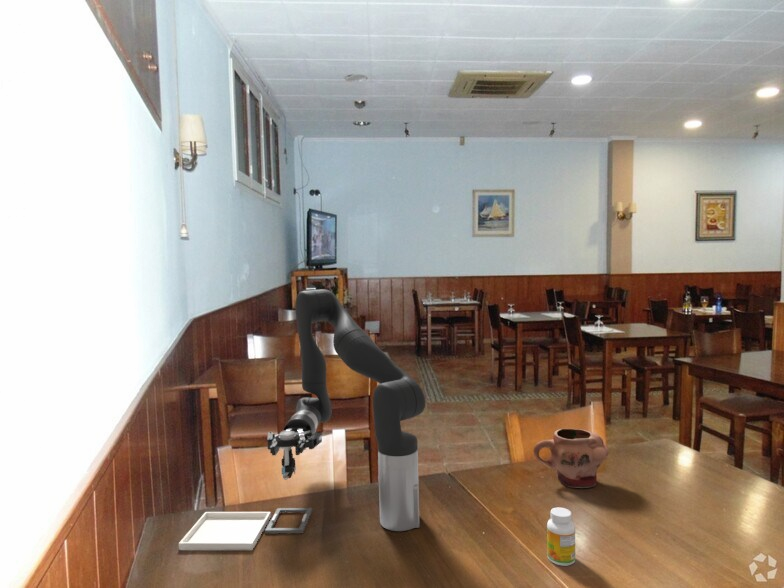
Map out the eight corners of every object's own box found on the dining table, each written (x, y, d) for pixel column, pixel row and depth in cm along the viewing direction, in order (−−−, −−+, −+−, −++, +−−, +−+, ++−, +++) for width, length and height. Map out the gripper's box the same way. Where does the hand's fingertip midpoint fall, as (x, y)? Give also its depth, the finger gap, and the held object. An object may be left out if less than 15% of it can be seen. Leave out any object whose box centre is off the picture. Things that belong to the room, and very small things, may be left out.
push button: (296, 481, 116) (295, 438, 115) (273, 482, 116) (271, 439, 115) (301, 469, 122) (300, 429, 122) (279, 470, 122) (278, 429, 122)
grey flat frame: (312, 511, 125) (311, 506, 125) (302, 533, 114) (302, 528, 114) (277, 511, 125) (277, 506, 125) (265, 533, 114) (264, 528, 114)
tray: (271, 517, 122) (270, 511, 122) (252, 550, 108) (252, 543, 108) (205, 518, 122) (205, 511, 122) (178, 550, 108) (178, 543, 108)
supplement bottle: (543, 552, 104) (542, 506, 104) (568, 550, 105) (568, 504, 104) (553, 567, 99) (553, 519, 99) (580, 565, 100) (579, 517, 99)
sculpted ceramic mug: (544, 495, 130) (543, 442, 130) (527, 476, 143) (526, 427, 142) (618, 490, 132) (618, 438, 131) (595, 471, 144) (595, 423, 144)
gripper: (274, 413, 134) (253, 435, 117) (327, 413, 133) (315, 435, 116) (275, 441, 134) (255, 467, 117) (328, 441, 134) (316, 466, 117)
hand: (285, 451), depth 117 cm, fingers closed on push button, 5 cm apart
